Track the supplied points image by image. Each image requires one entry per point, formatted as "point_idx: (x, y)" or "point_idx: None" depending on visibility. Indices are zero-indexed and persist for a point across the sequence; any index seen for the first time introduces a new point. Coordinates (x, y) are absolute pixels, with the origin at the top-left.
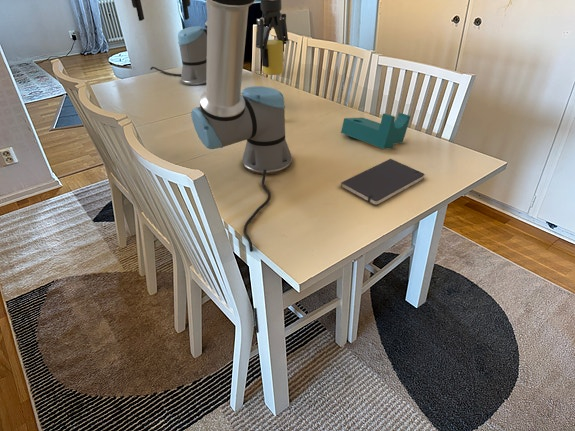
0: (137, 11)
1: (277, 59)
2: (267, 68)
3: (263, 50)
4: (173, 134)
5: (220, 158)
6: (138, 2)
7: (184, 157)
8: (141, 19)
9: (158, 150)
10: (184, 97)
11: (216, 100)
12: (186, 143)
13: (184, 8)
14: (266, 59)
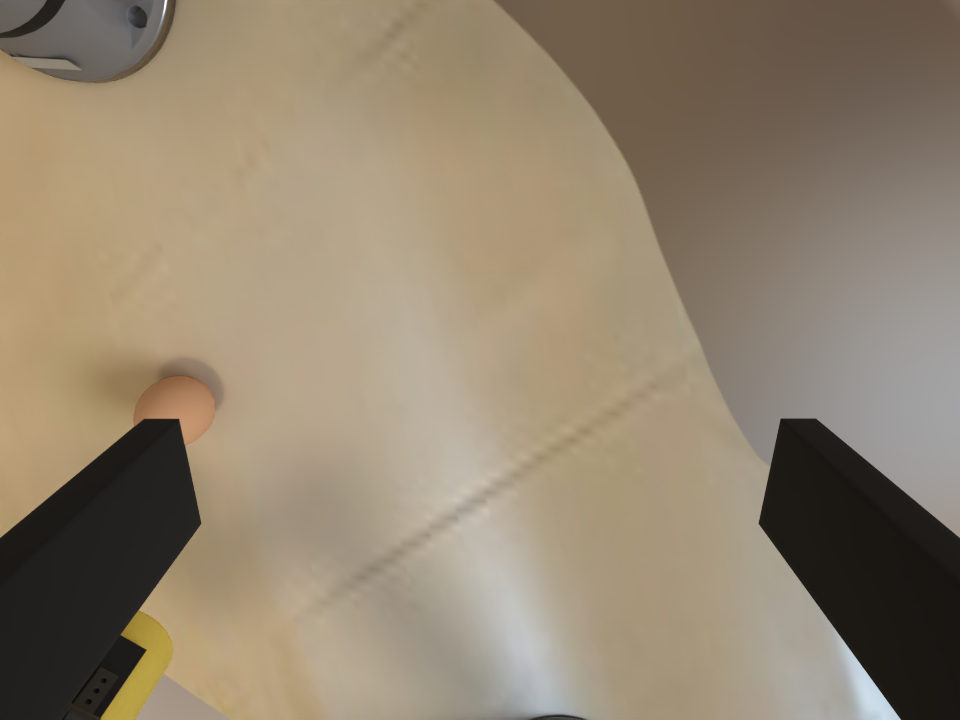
0: (885, 483)
1: None
2: (124, 634)
3: (73, 703)
4: (543, 271)
5: (287, 23)
6: (934, 612)
7: (445, 38)
8: (786, 433)
9: (573, 113)
10: (574, 613)
11: None
12: (469, 180)
13: (62, 498)
14: None
